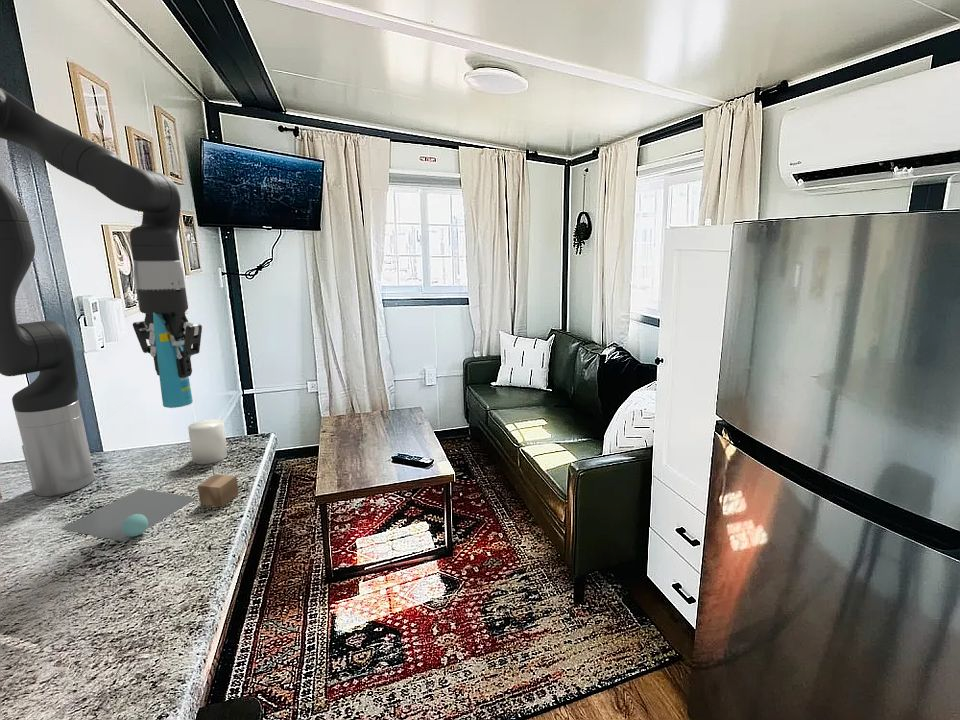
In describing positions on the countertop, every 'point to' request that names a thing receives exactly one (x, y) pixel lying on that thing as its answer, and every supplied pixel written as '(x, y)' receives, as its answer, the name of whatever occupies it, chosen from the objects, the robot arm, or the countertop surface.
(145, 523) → the teal ball
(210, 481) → the walnut block
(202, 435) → the white rounded cylinder
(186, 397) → the tube
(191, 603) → the countertop surface
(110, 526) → the plate
